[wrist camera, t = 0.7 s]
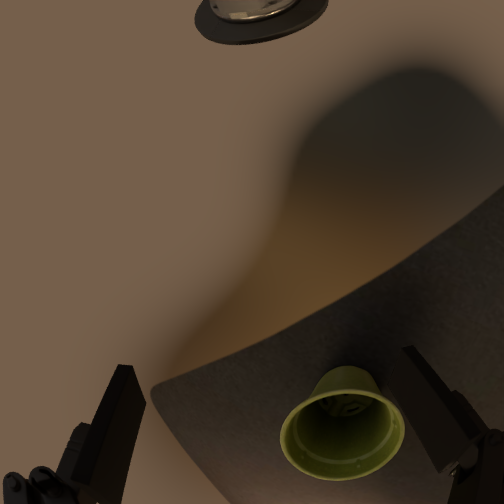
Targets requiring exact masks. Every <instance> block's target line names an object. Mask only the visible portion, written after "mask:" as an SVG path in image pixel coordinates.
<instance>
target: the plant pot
mask: <svg viewBox="0 0 504 504" xmlns="http://www.w3.org/2000/svg"><path fill="white" fill-rule="evenodd" d="M344 394H348V395H347V396H344ZM324 397H325V399H326V401H327V402H328V405H326V404H324V403H323V400H322V398H324ZM356 407H359V409H357V410H355V411H352V412H347V410H349V409H354V408H356ZM404 433H405V425H404V420H403V417H402V415H401V413H400V411H399V409H398V408H397V407H396V406H395V405H394V404H393V403H392V402H391V401H390V400H388V399H387V398H386V397H384V396H382V394H381V392H380V390H379V389H378V387H377V385H376V383H375V381H374V379H373V378H372V376H371V375H370V374H369V373H368V372H367V371H365V370H363V369H361V368H358V367H355V366H341V367H337V368H335V369H332V370H331V371H329V372H327V373H326V374H325V375H324V376H323V377H322V378H321V379H320V381H319V382H318V384H317V386H316V387H315V389H314V391H313V392H312V394H311V395H310V397H309V398H308V399H307V400H305V401H304V402H302V403H300V404H299V405H298V406H297V407H296V408H294V409H293V410H292V412H291V413H290V414H289V415H288V417H287V418H286V420H285V421H284V423H283V426H282V429H281V433H280V443H281V447H282V450H283V452H284V454H285V456H286V457H287V459H288V460H289V461H290V462H291V464H292V465H294V466H295V467H296V468H298V469H299V470H300V471H302V472H304V473H306V474H308V475H310V476H313V477H316V478H320V479H324V480H336V481H337V480H351V479H355V478H359V477H362V476H366V475H368V474H370V473H372V472H374V471H376V470H378V469H379V468H381V467H382V466H384V465H385V464H386V463H387V462H388V461H390V460H391V459H392V458H393V456H394V455H395V454H396V453H397V451H398V450H399V448H400V446H401V444H402V442H403V438H404Z"/></svg>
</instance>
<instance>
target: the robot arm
mask: <svg viewBox="0 0 504 504" xmlns="http://www.w3.org/2000/svg"><path fill="white" fill-rule="evenodd" d="M300 1H301V0H210V6H211V8H212V11H213V12H214V14H215V15H216V17H217V18H218V19H220V20H221V21H223V22H226V23H231V24H250V23H257V22H262V21H266V20H269V19H272V18H275V17H278V16H280V15H282V14H285V13H286V12H288V11H290V10H291V9H293V8H294V7H295V6H297V5H298V4H299V3H300ZM388 387H389V388H390V390H391V392H392V393H393V395H394V397H395V398H396V400H397V401H398V403H399V405H400V406H401V408H402V410H403V412H404V413H405V415H406V417H407V418H408V420H409V422H410V423H411V425H412V427H413V429H414V430H415V432H416V434H417V435H418V437H419V439H420V441H421V443H422V444H423V446H424V448H425V450H426V451H427V453H428V455H429V457H430V459H431V460H432V462H433V464H434V466H435V468H436V470H437V472H438V473H441V472H443V471H445V470H446V469H448V468H450V467H451V466H452V465H453V464H454V463H455V462H456V461H458V462H459V464H458V465H457V466H456V467H455V468H454V469H453V470H452V471H451V472H450V474H449V476H451V475H452V474H453V473H454V472H455V474H454V476H453V477H454V481H453V485H452V489H451V493H450V496H449V500H448V503H447V504H504V432H501V431H500V430H498V429H491V430H490V429H489V428H488V427H487V426H486V424H485V423H484V422H483V420H482V419H481V418H480V416H479V415H478V414H477V412H476V411H475V410H474V409H473V407H472V406H471V405H470V403H468V401H467V400H466V398H465V397H464V396H463V395H462V394H460V393H459V392H457V391H456V390H454V391H452V392H451V391H450V390H449V388H448V387H447V386H446V385H445V383H444V382H443V381H442V380H441V378H440V377H439V376H438V375H437V374H436V372H435V371H434V370H433V369H432V367H431V366H430V365H429V364H428V363H427V361H426V360H425V359H424V358H423V357H422V355H421V354H420V353H419V352H418V351H417V350H416V348H415V347H414V346H413V345H411V346H407V347H403V348H401V351H400V354H399V356H398V359H397V362H396V365H395V368H394V370H393V373H392V376H391V378H390V381H389V384H388ZM145 406H146V401H145V399H144V396H143V394H142V391H141V388H140V386H139V383H138V380H137V377H136V374H135V372H134V368H133V366H132V365H121V364H118V366H117V368H116V370H115V372H114V374H113V376H112V378H111V380H110V383H109V385H108V387H107V389H106V391H105V394H104V396H103V398H102V400H101V402H100V405H99V407H98V409H97V411H96V414H95V416H94V418H93V421H92V423H91V425H90V424H86V423H82V422H81V423H80V424H79V425H78V426H77V427H76V428H75V429H74V430H73V432H72V435H71V437H70V441H68V444H67V448H65V451H64V453H63V456H62V458H61V461H60V463H59V466H58V468H57V471H56V473H55V472H54V471H52V470H51V469H50V468H48V467H45V466H38V467H36V468H34V469H33V470H32V471H31V472H30V475H29V479H25V478H23V476H21V475H20V474H19V473H16V472H9V473H8V474H6V475H5V477H4V479H3V495H4V496H3V497H4V504H96V503H97V502H98V503H99V504H121V501H122V496H123V492H124V487H125V483H126V478H127V474H128V470H129V466H130V462H131V458H132V454H133V450H134V446H135V442H136V439H137V435H138V431H139V428H140V423H141V420H142V416H143V413H144V410H145Z"/></svg>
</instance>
